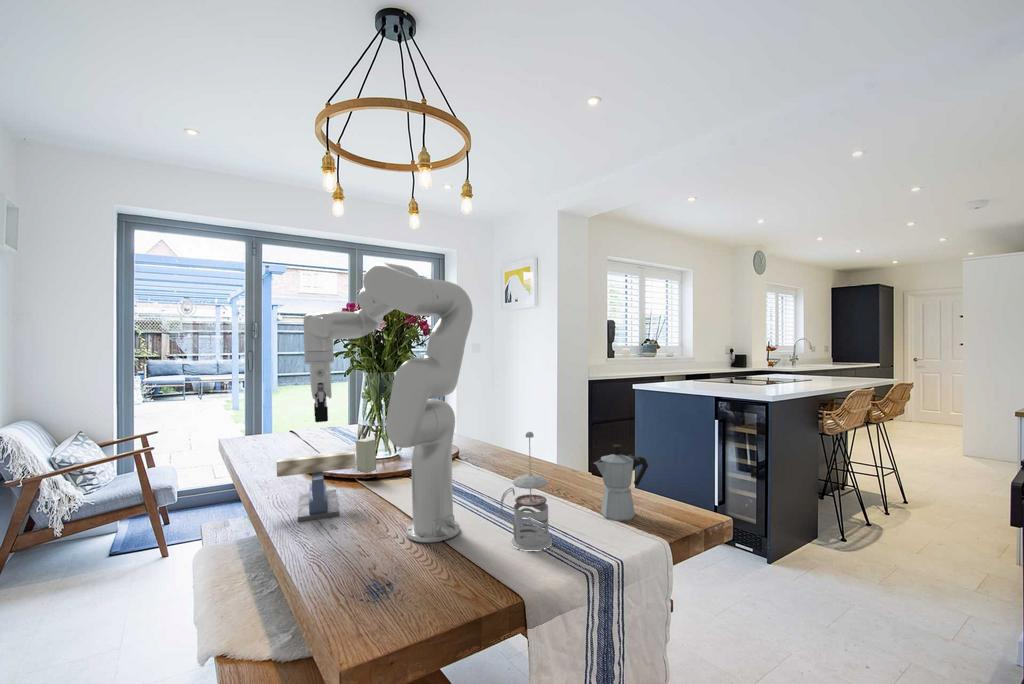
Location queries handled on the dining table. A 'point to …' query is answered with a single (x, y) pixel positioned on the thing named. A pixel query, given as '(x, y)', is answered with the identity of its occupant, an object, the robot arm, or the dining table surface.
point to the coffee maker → (619, 484)
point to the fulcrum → (317, 501)
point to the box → (366, 455)
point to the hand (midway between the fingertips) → (321, 419)
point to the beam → (315, 464)
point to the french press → (527, 534)
